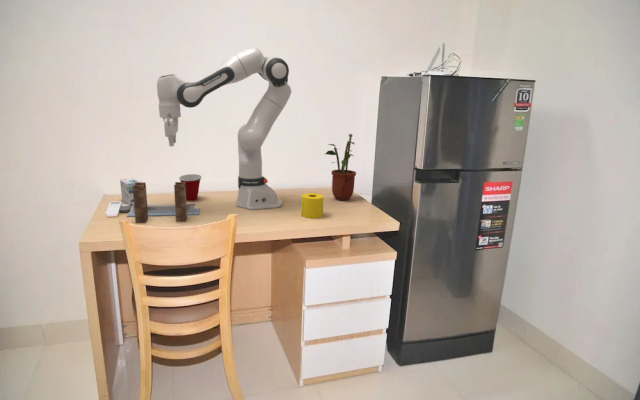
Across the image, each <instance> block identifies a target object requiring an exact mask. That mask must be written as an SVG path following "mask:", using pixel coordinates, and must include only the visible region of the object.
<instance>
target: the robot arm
mask: <svg viewBox="0 0 640 400" xmlns="http://www.w3.org/2000/svg"><path fill="white" fill-rule="evenodd" d="M289 72H290V69H289V64H288V63H287V62H286V61H285V60H284V59H283V58H280V57H274V56H272V57H267V56H264V54H263V52H262V51H261V50H260V49H259V48H258V47H250V48H246V49H244V50H241V51H239V52H237V53H235V54H233V55H231V56H230V57H228V58H227V59H225V60H224V61H223V62H222V63H221V64H220V66H219V67H218V69H216V70H215V71H214V72H213V73H211V74H210V75H207V76H206V77H204V78H202V79H200V80H198V81H194V82H190V81H187V80H184V79H183V78H180V77H178V76H177V75H176V74H167V75H161V76H160V77H159V78H158V79H157V82H156V90H157V91H156V93H157V98H158V113H159V115H158V116H159V118H161V119H162V121H163V123H164V125H163V126H164V135H165V137H166V138H167V139H168V145H169V147H174V146H175V143H177V132H179V131H178V130H179V118H181V117H182V112H181V105H182V107H183V106H184V107H185V108H195V107H197V106H198V105H200V104H201V103H202V101H203V100H204V98H205V97H206V96H207V95H209V94H211V93H213V92H214V91H216V90H218V89H220V88H221V87H224V86H226V85H231V84H235V83H238V82H241V81H243V80H245V79H247V78H249V77H250V76H252V75H254V74H255V75H256V74H258V75H259V76H260V77H261V78H262V79H264V80H265V81H267V82H268V85H267V86H268V87H267V89H266V91H265V93H264V94H263V96H262V97H261V99H260V100H259V102H258V103H257V104H256V106H255V108H254V109H253V111H252V113H251V115H250V117H249V119H248V121H247V123H246V124H243V125H241V126H240V127H239V129H238V131H237V148H238V149H237V151H238V152H237V153H238V177H237V187H238V191H237V198H236V202H235V205H236V206H237V207H239V208H244V209H248V210H251V211H253V210H265V209H277V208H278V209H279V208H280V207H282V204H283V203H282V201H281V200H280V199H279V198H278V196H277V192H276V191H275V190H274V188H272V187H270V186H269V185H268V184H267V183H269V182H268V181H269V180H268V179H267V178H266V177H265V176H264V175H263V157H262V146H263V144H264V142H265V140H266V139H267V138H268V135H269V133H270V131H271V129H272V127H273V125H274V124H275V122H276V120H277V119H278V117H279V116H280V115H281V113H282V111H283V110H284V108H285V107H286V105H287V103H288V102H289V99H290V97H291V94H292V89H291V88H292V87H291V86H290V85H289V83H288V81H289V80H288V79H289V74H290V73H289Z"/></svg>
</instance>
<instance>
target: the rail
mask: <svg viewBox="0 0 640 400" xmlns="http://www.w3.org/2000/svg"><path fill="white" fill-rule="evenodd" d="M195 205H196V204H195V203H186V209H187V212H195V208H196V206H195ZM147 208H148V213H175V203H172V204H171V203H170V204H169V203H168V204H166V203H165V204H147ZM132 210H133V214H135V208H134V205H132Z"/></svg>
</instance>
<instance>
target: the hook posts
mask: <svg viewBox="0 0 640 400" xmlns="http://www.w3.org/2000/svg"><path fill="white" fill-rule="evenodd" d="M146 183H147V182H143V181H140V183H135V185H133V196H134V205H133V206H134V208H135V217H134V221H135V224H147V222H148V221H149V217H148V208H147V205H148V199H147V198H148V195H147V186H146V185H147V184H146ZM173 186H174V187H173V189H174V191H173V192H174V204H175V213H176V216H175V222H176V223H187V218H188V216H187V209H186V204H187V200H186V187H185V182H181V181H177V182H174V185H173Z"/></svg>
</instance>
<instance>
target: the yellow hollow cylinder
mask: <svg viewBox="0 0 640 400" xmlns="http://www.w3.org/2000/svg"><path fill="white" fill-rule="evenodd" d="M300 206H301V207H300V208H301V209H300V211H301V212H300V215H301V218H305V219H309V220H311V219H313V220H314V219H321V218H322V217H323V215H324V214H323V210H324V195H323V194H321V193H315V192H309V193H308V192H307V193H302V194H301V205H300Z"/></svg>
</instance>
